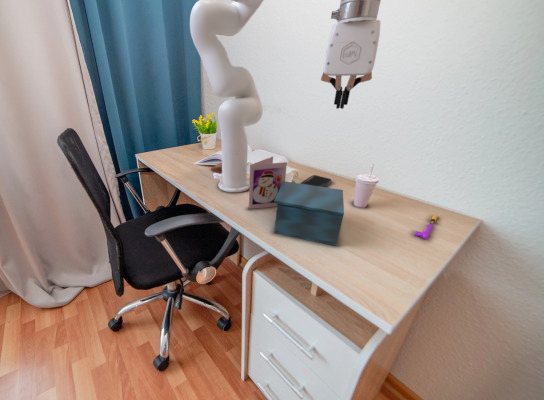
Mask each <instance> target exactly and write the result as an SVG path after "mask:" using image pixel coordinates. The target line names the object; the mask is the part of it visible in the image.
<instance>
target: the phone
mask: <svg viewBox="0 0 544 400" xmlns="http://www.w3.org/2000/svg"><path fill="white" fill-rule="evenodd" d="M299 183H300V184H306V185H313V186H320V187H326V188H327V186H328V185H331V183H332V179H331V178H328V177H325V176H320V175H316V174H313V175H311V176H309V177H308V178H306V179H305V180H303V181H302V182H299Z"/></svg>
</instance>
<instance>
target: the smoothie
mask: <svg viewBox="0 0 544 400" xmlns="http://www.w3.org/2000/svg"><path fill="white" fill-rule="evenodd" d="M374 166H375V164H374V163H372V164H371V167H370V169H369V174H368V173H359V174H356V175H355V178H354V179H355V187H354V196H353V205H354V206H355V207H358V208H366V207H367V205H368V203H369V201H370V199H371V197H372V194H373V192H374V190H375V188H376V186H377V184H379V181H380V178H378V177H377V176H375V175H372V173H373V170H374Z"/></svg>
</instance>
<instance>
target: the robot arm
mask: <svg viewBox="0 0 544 400" xmlns="http://www.w3.org/2000/svg"><path fill="white" fill-rule="evenodd" d="M263 2H264V0H231V2H230V3H228V2H225V1H222V0H197V1H196V2H195V3H194V4H193V6H192V8H191V11H190V16H189V32H190V36H191V39H192V42H193V45H194V47H195V50H196V51H197V53H198V55H199V57H200V59H201V62H202V65H203V68H204V71H205V73H206V76H207V79H208V82H209V85H210V87H211V91H213V94H214V95H215V96H216V97H217V98H220V99H221V98H222V99H224V98H225V99H226V98H227V100H225V101H223V102H222V103H221V104H220V105H219V107H218V109H217V121H218V126H219V130H220V141H221V142H220V144H221V145H220V147H221V162H222V173H218V172H213V175H212V177H213V180H215V181H219V182H218V184H217V185H218V188H219V190H221V191H224V192H226V193H241V192H245V191H249V185H250V180H248V151H249V150H248V146H249V145H248V144H249V143H248V142H249V141H248V135H247V133H246V130H245V127H248V126H252V125H256V124H257V123H258V122H259V121H260V120H261V119H262V117H263V104H262V101H261V98H260V96H259V92H258V89H257V86H256V83H255V80H254V78H253V75H252V74H251V72H250V71H249V70H248V69H247V68H245V67H243V66H234V65H233V64H232V63H231V61H230V59H229V55H228V52H227V50H226V48H225V47H224V45H223V44H222V42H221V40H219V38H218V37H217V36H224V37H234V36H236V35H238V34H239V33H240V32H241V31H242V29H243V28H244V27H245V26H246V25H247V23H248V22H249V21H250V20H251V18H252V17H253V16H254V14H255V13H256V12H257V11H258V9H259V8H260V7H261V6H262V4H263ZM339 3H340V4H339V8H337V9H335V10H333V11H331V14H330V19H331V20H335V21H337V22H336V23H334V24H332V27H331V31H330V34H329V38H328V41H327V47H326V51H325V57H324V62H323V72H322V75H321V78H320V81H321V82H323V83H324V82H325V83H328V84H331V86H332V87H333V88H334V90H335V94H334V95H335V96H334V101H333V105H334V106H335V105H336V106H335V107H336V109H337V110H338V109H341V110H344V108H345V105H346V106H348V103H349V99H350V93H351V90H352V89H354V88H355V87H356V86H357V85H358V84H361V83H365V82H369V81H371V80H372V78H373V75H372V74H373V72H372V71H373V70H374V67H375V63H376V57H377V52H378V47H379V41H380V33H381V20H380V19H378V15H379V14H378V13H379V11H380V7H381V6H380V5H381V0H340V2H339ZM346 76H347V77H349V78H348V81H347V84H346V86H344V90H343V86H342V77H346ZM357 76H358V77H357ZM228 98H231V99H228Z"/></svg>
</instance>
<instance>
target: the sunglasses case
mask: <svg viewBox="0 0 544 400" xmlns="http://www.w3.org/2000/svg"><path fill="white" fill-rule="evenodd" d="M210 169H211V170H212V171H213V172H214V173H219V174H221V173H222V161H221V162H219V163H217V164H215V165H213V166H212V167H211V168H210Z"/></svg>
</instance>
